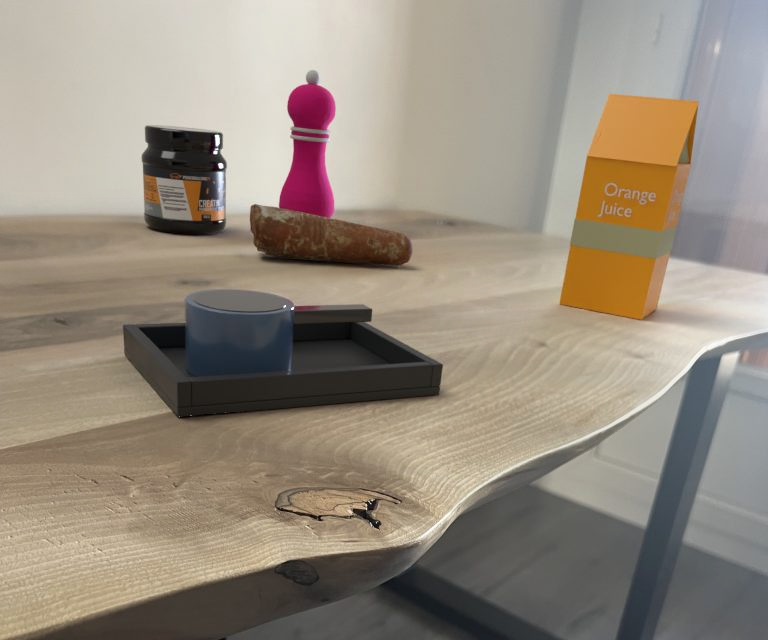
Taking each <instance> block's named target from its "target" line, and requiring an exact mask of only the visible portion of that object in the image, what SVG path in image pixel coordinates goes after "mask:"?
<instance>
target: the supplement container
mask: <svg viewBox="0 0 768 640" xmlns="http://www.w3.org/2000/svg"><path fill="white" fill-rule="evenodd" d="M144 142H145V143H146V144H147V147H146V148H145V149H144V151H143V152H142V153H141V163H142V180H143V183H142V184H143V210H144V212H143V220H144V222H145V224H146V225H147V226H148V227H149V228H151V229H153V230H155V231H160V232H162V233H163V232H165V233H170V234H177V235H178V234H179V235H196V236H199V235H201V236H202V235H204V236H205V235H215V234H219V233H221V232H222V231H223V230H224V229H225V228H226V225H227V217H226V213H227V211H226V209H227V206H226V205H227V204H226V203H227V169H228V162H227V160H226V159H225V157H224V155H223V154H222V150H223V149H224V133H223V132H221V131H218V130H212V129H204V128H198V127H197V128H195V127H187V126H175V125H161V124H160V125H159V124H147V125H145V126H144Z"/></svg>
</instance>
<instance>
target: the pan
mask: <svg viewBox="0 0 768 640" xmlns="http://www.w3.org/2000/svg"><path fill="white" fill-rule="evenodd" d="M372 320H373V308H371V307H369V306H367V305H366V304H364V303H363V304H362V303H359V304H320V305H319V304H318V305H295V304H294V302H293V301H292V300H290V299H288V298H286V297H283V296H280V295H277V294H273V293H268V292H263V291H257V290H248V289H233V288H232V289H229V288H228V289H224V288H223V289H222V288H220V289H219V288H218V289H206V290H205V289H204V290H200V291H194V292H192V293H189V294H187V295H186V296H185V297H184V323H185V357H186V369H187V371H188V372H189V373H191V374H192V375H194V376H196V377H201V376H216V375H232V374H247V373H262V372H278V371H292V351H293V329H294V325H297V324H324V323H352V322H365V323H372Z"/></svg>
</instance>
